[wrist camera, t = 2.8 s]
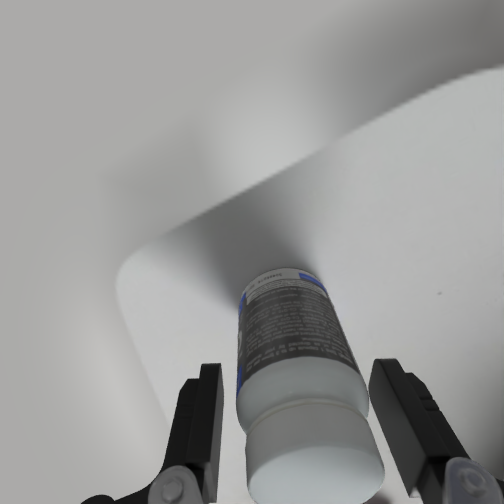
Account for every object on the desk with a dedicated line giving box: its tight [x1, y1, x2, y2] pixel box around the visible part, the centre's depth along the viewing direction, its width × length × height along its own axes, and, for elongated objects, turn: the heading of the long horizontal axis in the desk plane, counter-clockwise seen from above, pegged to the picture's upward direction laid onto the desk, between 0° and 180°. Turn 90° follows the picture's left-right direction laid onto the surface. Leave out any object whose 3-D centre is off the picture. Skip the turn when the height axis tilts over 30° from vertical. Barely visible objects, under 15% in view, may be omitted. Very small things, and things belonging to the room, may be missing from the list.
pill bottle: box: [236, 268, 385, 504], centre depth 12 cm, size 5×5×8 cm
